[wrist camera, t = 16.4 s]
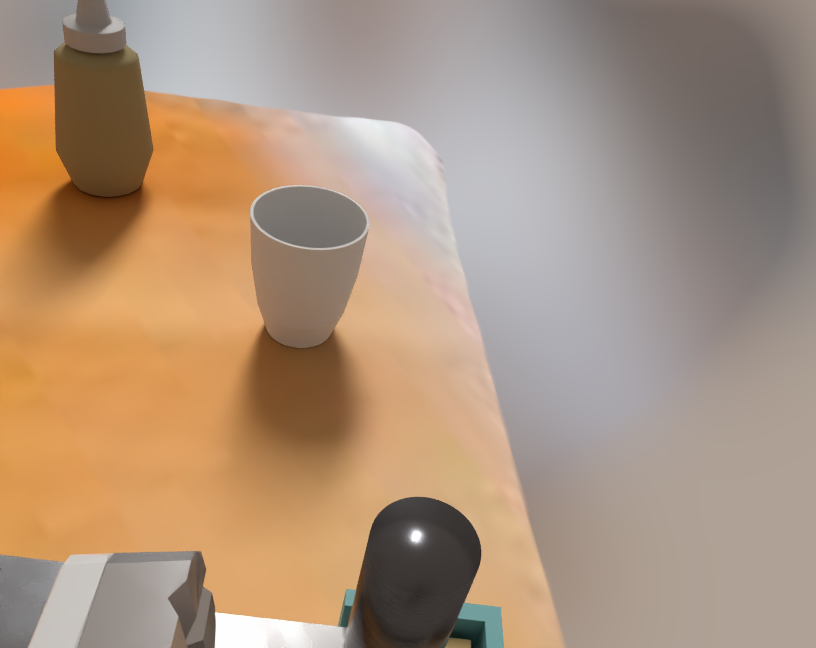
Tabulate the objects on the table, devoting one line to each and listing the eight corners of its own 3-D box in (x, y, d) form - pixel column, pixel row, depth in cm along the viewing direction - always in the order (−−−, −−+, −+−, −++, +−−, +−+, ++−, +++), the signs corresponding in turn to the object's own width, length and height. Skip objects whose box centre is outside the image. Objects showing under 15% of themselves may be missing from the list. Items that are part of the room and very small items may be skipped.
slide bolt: (69, 734, 32) (19, 549, 23) (102, 643, 35) (68, 449, 26) (453, 771, 34) (542, 610, 25) (451, 680, 37) (529, 509, 28)
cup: (348, 296, 61) (364, 190, 54) (355, 364, 55) (374, 253, 48) (247, 290, 59) (252, 180, 53) (242, 360, 53) (248, 244, 47)
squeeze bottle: (99, 215, 63) (76, -3, 52) (40, 177, 66) (7, -37, 55) (174, 186, 69) (168, -16, 58) (117, 152, 72) (100, -47, 61)
